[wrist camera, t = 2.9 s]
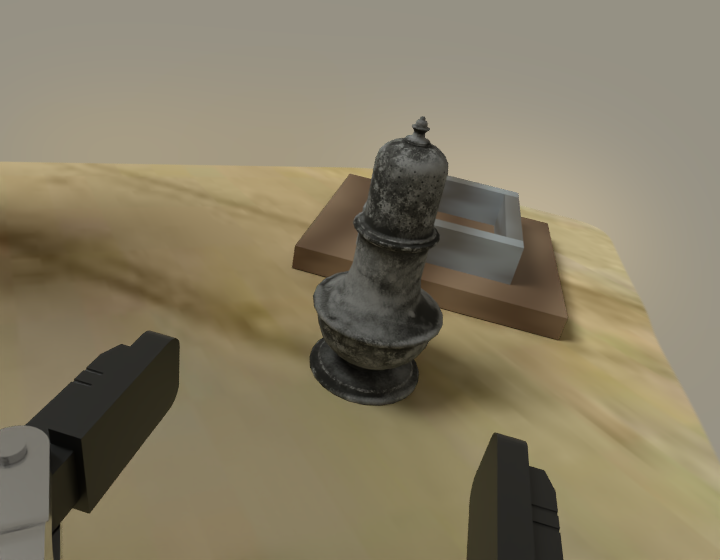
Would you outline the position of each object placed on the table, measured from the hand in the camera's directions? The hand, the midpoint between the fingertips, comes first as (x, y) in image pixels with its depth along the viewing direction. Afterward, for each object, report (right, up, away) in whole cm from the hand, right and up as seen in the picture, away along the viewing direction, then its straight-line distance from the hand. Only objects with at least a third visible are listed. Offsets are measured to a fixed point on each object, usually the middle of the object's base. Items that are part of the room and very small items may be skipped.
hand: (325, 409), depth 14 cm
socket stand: (+6, +5, +25) cm, 26 cm away
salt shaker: (+1, -1, +13) cm, 13 cm away
